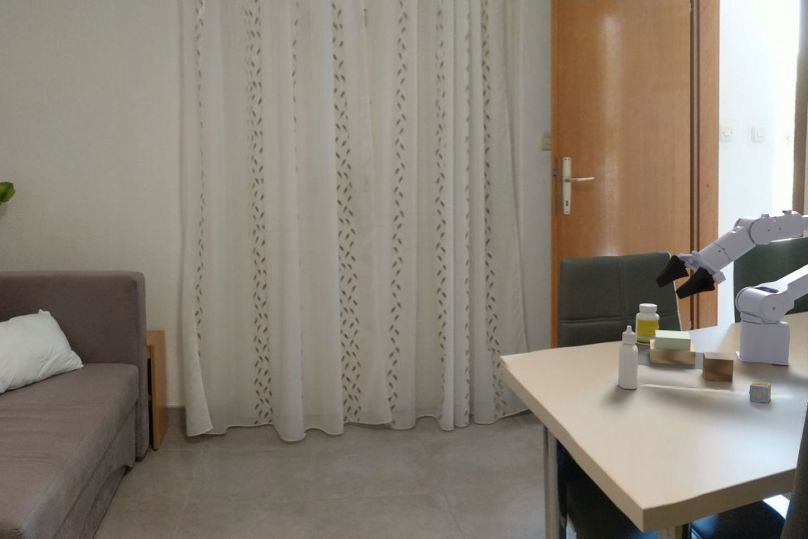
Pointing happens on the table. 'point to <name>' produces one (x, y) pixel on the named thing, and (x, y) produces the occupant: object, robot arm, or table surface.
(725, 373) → the walnut cube
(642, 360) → the mat
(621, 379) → the eye dropper bottle
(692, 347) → the tower base
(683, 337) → the tower top
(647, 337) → the supplement bottle
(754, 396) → the alphabet block
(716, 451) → the table surface
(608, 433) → the table surface
